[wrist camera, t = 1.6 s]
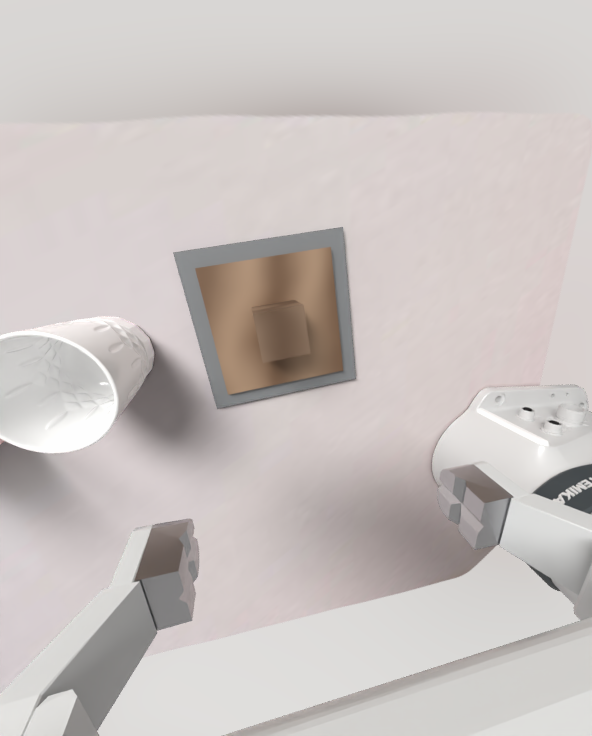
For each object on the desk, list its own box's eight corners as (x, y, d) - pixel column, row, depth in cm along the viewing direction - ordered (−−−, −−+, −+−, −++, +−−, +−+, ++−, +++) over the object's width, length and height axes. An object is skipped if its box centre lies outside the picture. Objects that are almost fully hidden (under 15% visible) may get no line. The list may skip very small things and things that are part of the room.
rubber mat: (341, 227, 26) (343, 226, 25) (354, 377, 31) (355, 378, 31) (174, 253, 24) (173, 252, 24) (217, 406, 29) (217, 408, 29)
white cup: (158, 311, 26) (109, 334, 16) (164, 391, 28) (125, 451, 19) (59, 306, 24) (-58, 328, 15) (75, 391, 27) (-17, 456, 17)
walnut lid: (328, 247, 26) (348, 241, 21) (341, 368, 30) (359, 387, 25) (196, 268, 24) (184, 267, 20) (228, 392, 29) (225, 416, 24)
